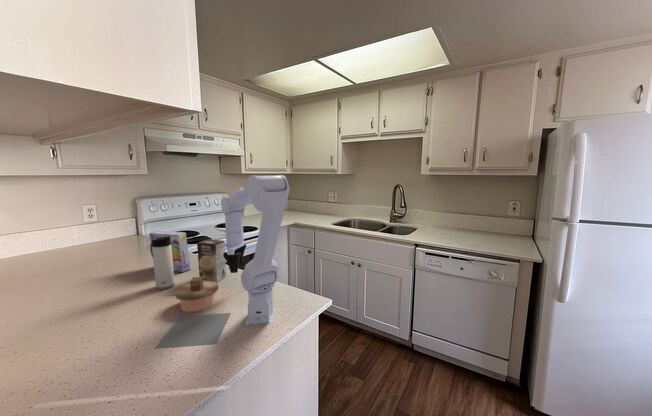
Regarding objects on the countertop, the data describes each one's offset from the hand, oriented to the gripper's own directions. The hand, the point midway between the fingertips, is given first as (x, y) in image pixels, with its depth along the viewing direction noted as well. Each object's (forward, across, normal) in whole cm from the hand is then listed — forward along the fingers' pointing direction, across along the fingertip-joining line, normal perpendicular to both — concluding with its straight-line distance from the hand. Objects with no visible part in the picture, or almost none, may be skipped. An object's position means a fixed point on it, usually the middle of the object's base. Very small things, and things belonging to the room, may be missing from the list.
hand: (236, 268), depth 93 cm
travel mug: (+11, -12, -30) cm, 34 cm away
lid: (+5, +5, -12) cm, 14 cm away
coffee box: (+11, -18, -14) cm, 25 cm away
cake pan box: (+11, -32, -37) cm, 50 cm away
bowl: (+10, +5, -12) cm, 17 cm away
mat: (+10, +20, -7) cm, 24 cm away
